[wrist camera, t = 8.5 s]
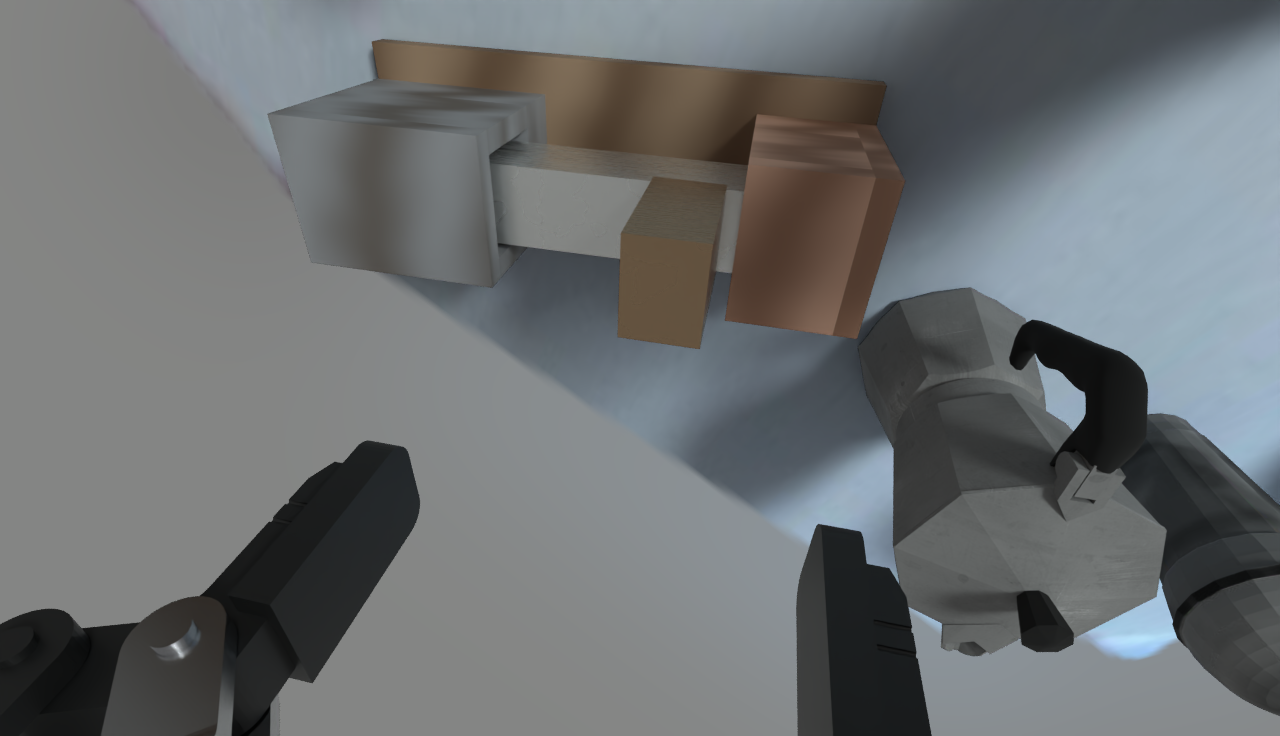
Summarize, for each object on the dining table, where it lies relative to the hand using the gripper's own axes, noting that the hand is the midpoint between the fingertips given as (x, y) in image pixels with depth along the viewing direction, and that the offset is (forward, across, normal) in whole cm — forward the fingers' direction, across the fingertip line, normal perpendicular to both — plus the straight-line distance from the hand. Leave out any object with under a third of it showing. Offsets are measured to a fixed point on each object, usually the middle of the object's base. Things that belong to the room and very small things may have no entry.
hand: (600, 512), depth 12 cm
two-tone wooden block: (+20, +3, +1) cm, 20 cm away
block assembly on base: (+24, +6, +1) cm, 25 cm away
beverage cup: (+24, -27, +14) cm, 39 cm away
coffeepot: (+24, -14, +9) cm, 29 cm away
